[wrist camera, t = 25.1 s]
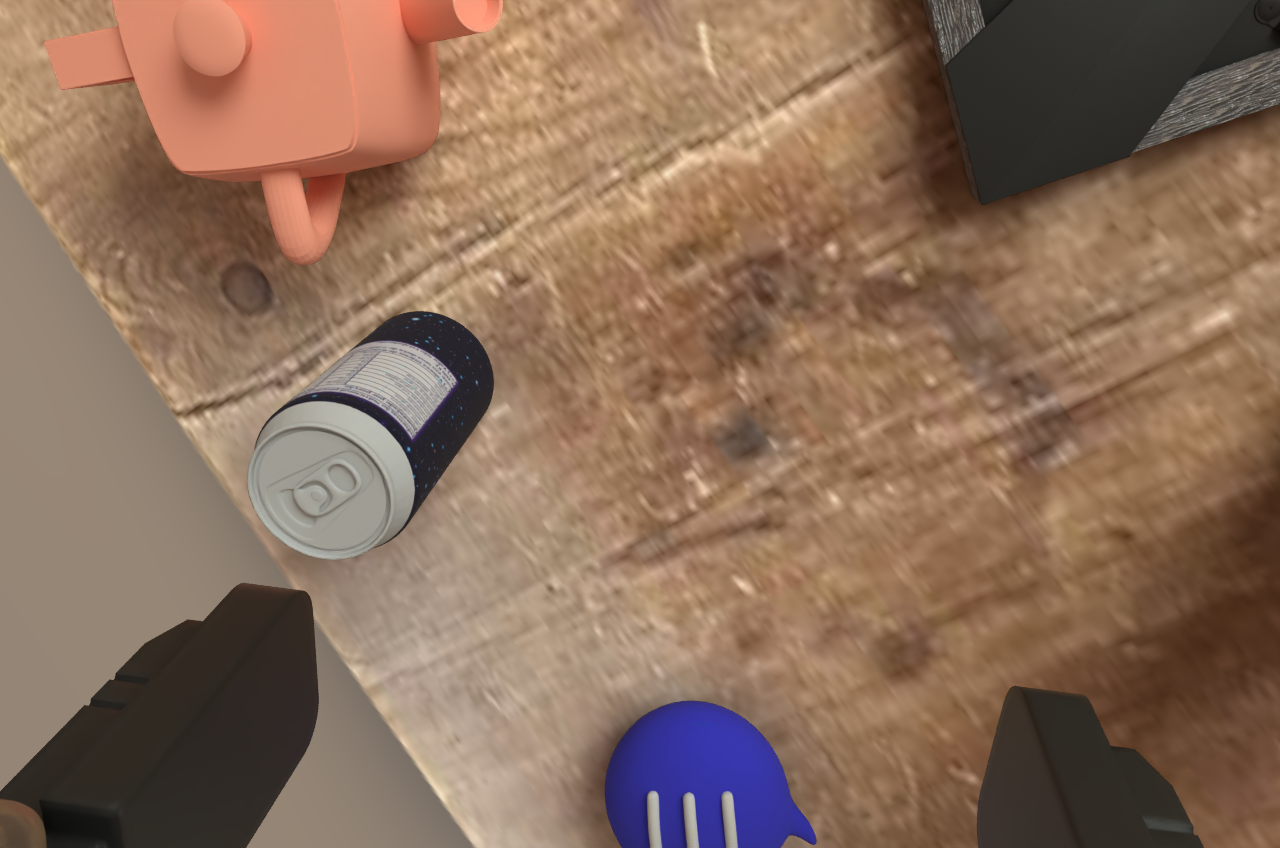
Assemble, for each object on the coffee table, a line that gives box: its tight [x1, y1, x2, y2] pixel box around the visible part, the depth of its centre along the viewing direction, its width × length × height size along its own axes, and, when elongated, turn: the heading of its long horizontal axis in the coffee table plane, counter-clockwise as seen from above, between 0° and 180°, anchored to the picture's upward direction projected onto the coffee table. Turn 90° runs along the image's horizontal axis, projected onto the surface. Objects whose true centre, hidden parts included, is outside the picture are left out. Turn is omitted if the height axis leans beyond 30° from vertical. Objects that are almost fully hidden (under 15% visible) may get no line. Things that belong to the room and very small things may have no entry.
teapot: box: [44, 0, 503, 265], centre depth 34 cm, size 12×12×10 cm
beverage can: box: [247, 311, 494, 560], centre depth 38 cm, size 6×6×12 cm
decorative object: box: [605, 701, 816, 848], centre depth 47 cm, size 10×6×10 cm
